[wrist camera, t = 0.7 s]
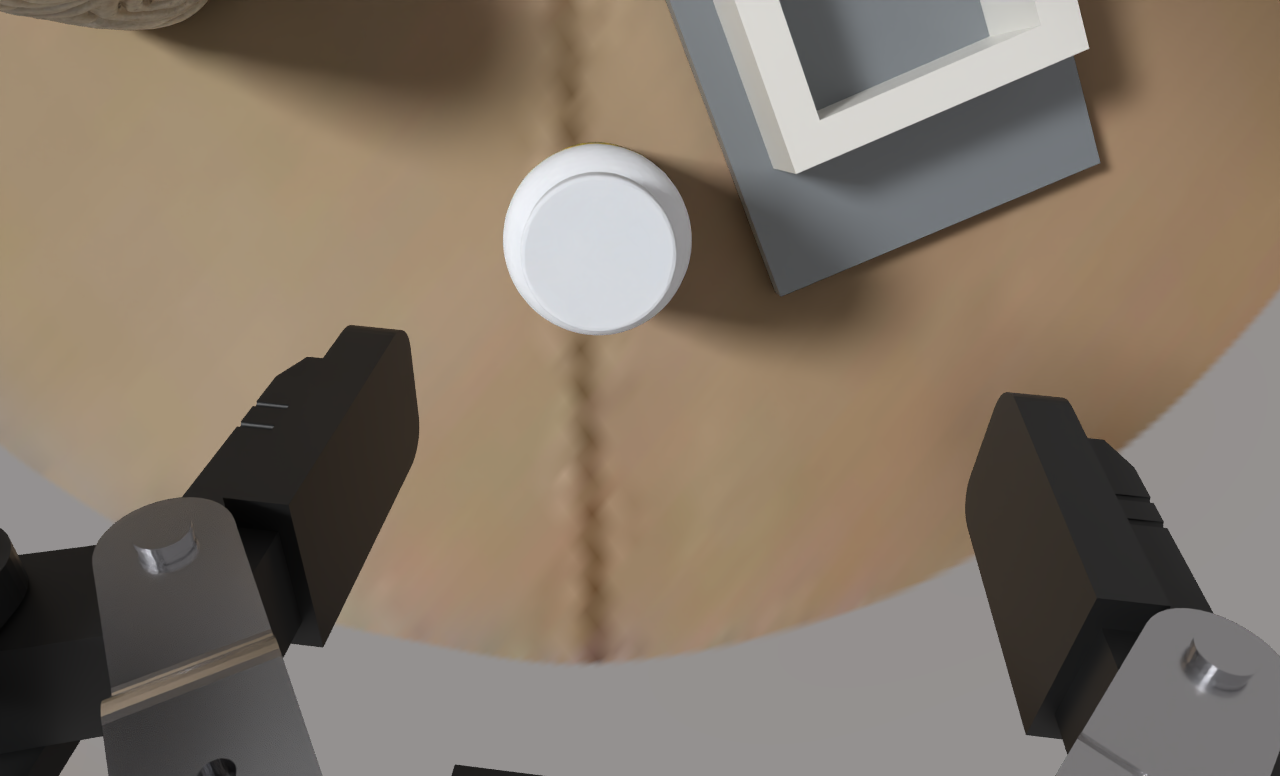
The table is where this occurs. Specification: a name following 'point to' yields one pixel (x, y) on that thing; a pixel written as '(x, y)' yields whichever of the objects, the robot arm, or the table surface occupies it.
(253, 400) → the table surface
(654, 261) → the supplement bottle
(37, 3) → the carving
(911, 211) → the holder board
